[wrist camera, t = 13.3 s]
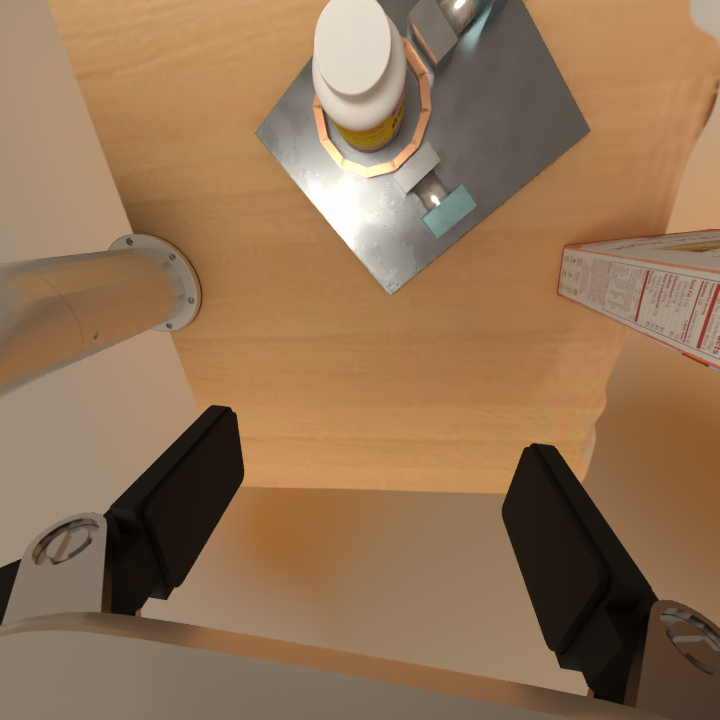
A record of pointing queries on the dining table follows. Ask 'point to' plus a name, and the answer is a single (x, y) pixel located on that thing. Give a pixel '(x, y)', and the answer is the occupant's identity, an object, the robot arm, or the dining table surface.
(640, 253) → the cracker box
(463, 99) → the base
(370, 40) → the supplement bottle
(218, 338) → the dining table surface
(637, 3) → the dining table surface
